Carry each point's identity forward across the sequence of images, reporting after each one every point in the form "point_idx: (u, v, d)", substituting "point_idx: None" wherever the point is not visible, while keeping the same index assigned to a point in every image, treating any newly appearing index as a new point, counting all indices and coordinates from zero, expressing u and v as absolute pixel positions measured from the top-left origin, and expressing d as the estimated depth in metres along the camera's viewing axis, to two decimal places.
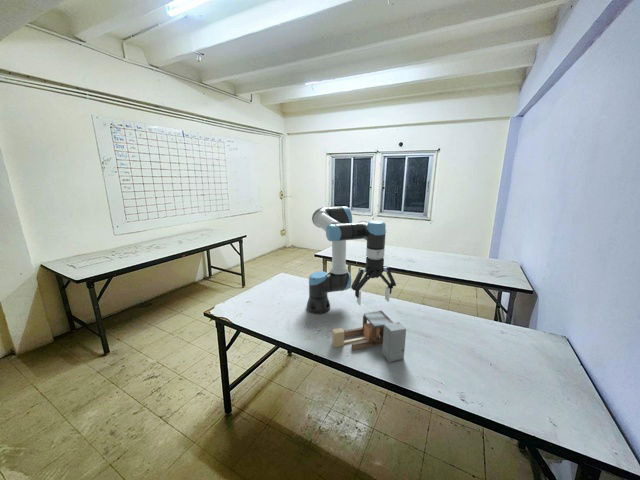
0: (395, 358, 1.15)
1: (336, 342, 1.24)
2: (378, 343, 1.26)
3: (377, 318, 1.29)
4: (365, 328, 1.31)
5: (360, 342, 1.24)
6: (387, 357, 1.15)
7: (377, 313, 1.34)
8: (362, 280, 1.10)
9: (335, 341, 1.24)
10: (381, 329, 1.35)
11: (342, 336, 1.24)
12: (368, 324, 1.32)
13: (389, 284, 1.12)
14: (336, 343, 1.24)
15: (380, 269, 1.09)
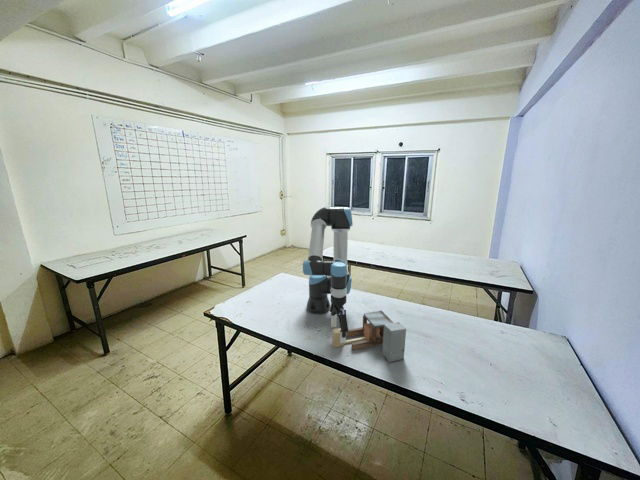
0: (395, 358, 1.15)
1: (336, 342, 1.24)
2: (378, 343, 1.26)
3: (377, 318, 1.29)
4: (365, 328, 1.31)
5: (360, 342, 1.24)
6: (387, 357, 1.15)
7: (377, 313, 1.34)
8: None
9: (335, 341, 1.24)
10: (381, 329, 1.35)
11: None
12: (368, 324, 1.32)
13: (341, 327, 1.16)
14: (336, 343, 1.24)
15: (337, 307, 1.19)
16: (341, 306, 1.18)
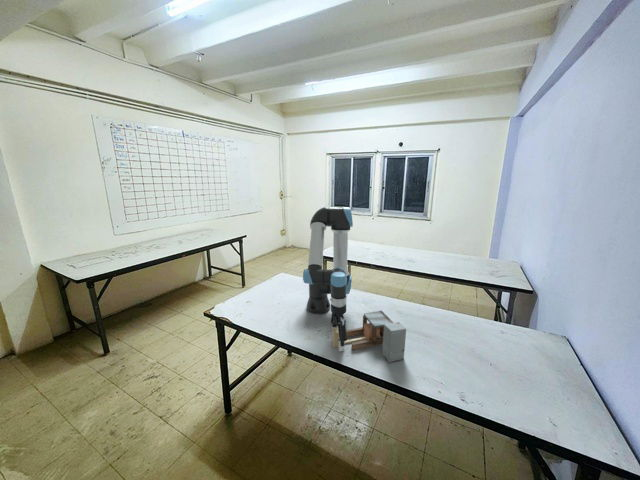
0: (395, 358, 1.15)
1: (336, 342, 1.24)
2: (378, 343, 1.26)
3: (377, 318, 1.29)
4: (365, 328, 1.31)
5: (360, 342, 1.24)
6: (387, 357, 1.15)
7: (377, 313, 1.34)
8: None
9: (335, 341, 1.24)
10: (381, 329, 1.35)
11: None
12: (368, 324, 1.32)
13: (339, 336, 1.20)
14: (336, 343, 1.24)
15: (337, 316, 1.20)
16: (341, 315, 1.19)
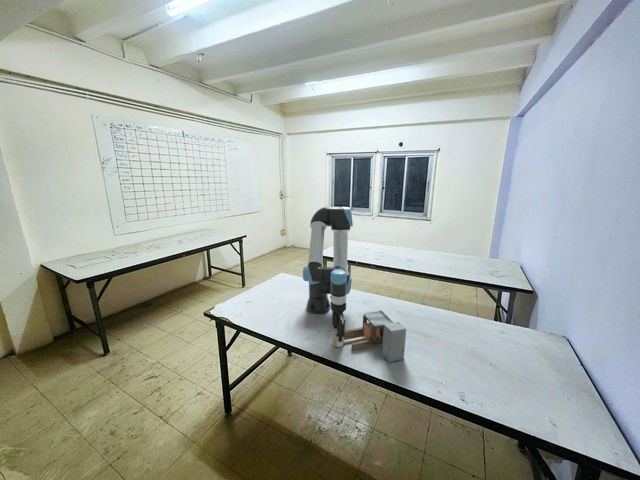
0: (395, 358, 1.15)
1: (336, 341, 1.24)
2: (378, 343, 1.26)
3: (377, 318, 1.29)
4: (365, 327, 1.31)
5: (360, 342, 1.24)
6: (387, 357, 1.15)
7: (377, 313, 1.34)
8: None
9: (335, 341, 1.24)
10: (381, 329, 1.35)
11: None
12: (368, 323, 1.32)
13: (337, 332, 1.22)
14: (336, 342, 1.24)
15: (337, 314, 1.20)
16: (341, 313, 1.19)
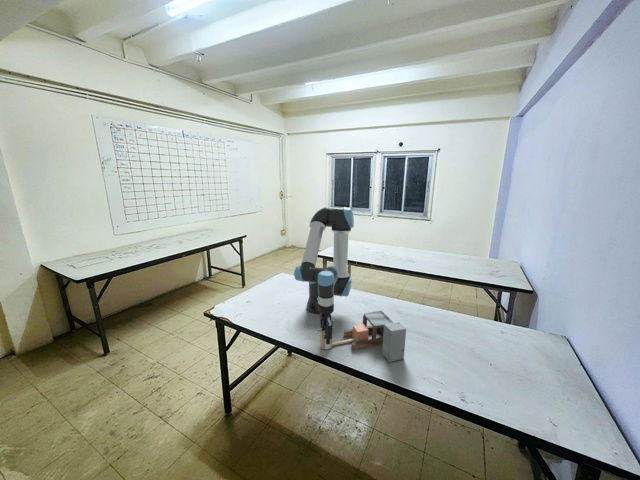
0: (395, 358, 1.15)
1: (324, 344, 1.23)
2: (378, 343, 1.26)
3: (377, 318, 1.29)
4: (354, 329, 1.29)
5: (360, 342, 1.24)
6: (387, 357, 1.15)
7: (377, 313, 1.34)
8: None
9: (323, 343, 1.22)
10: (381, 329, 1.35)
11: None
12: (357, 325, 1.30)
13: (325, 334, 1.20)
14: (324, 344, 1.23)
15: (325, 316, 1.18)
16: (328, 315, 1.17)
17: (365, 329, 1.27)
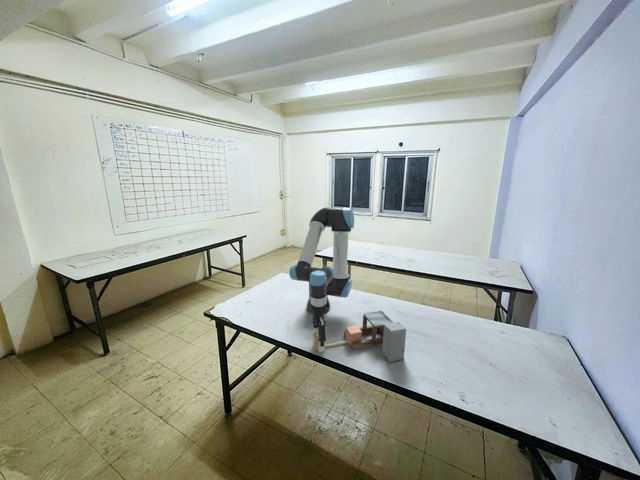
0: (395, 358, 1.15)
1: (317, 346, 1.22)
2: (378, 343, 1.26)
3: (377, 318, 1.29)
4: (347, 331, 1.28)
5: (360, 342, 1.24)
6: (387, 357, 1.15)
7: (377, 313, 1.34)
8: None
9: (315, 345, 1.21)
10: (381, 329, 1.35)
11: None
12: (350, 327, 1.29)
13: (319, 336, 1.17)
14: (316, 346, 1.22)
15: (317, 316, 1.17)
16: (321, 315, 1.16)
17: (358, 331, 1.26)
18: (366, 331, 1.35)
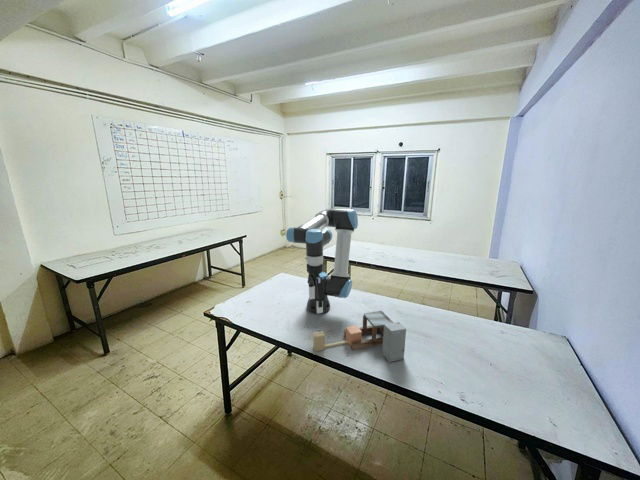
0: (395, 358, 1.15)
1: (317, 346, 1.22)
2: (378, 343, 1.26)
3: (377, 318, 1.29)
4: (347, 331, 1.28)
5: (360, 342, 1.24)
6: (387, 357, 1.15)
7: (377, 313, 1.34)
8: None
9: (315, 345, 1.21)
10: (381, 329, 1.35)
11: (323, 340, 1.22)
12: (350, 327, 1.29)
13: (317, 296, 1.11)
14: (316, 346, 1.22)
15: (314, 276, 1.13)
16: (317, 275, 1.12)
17: (358, 331, 1.26)
18: (366, 331, 1.35)
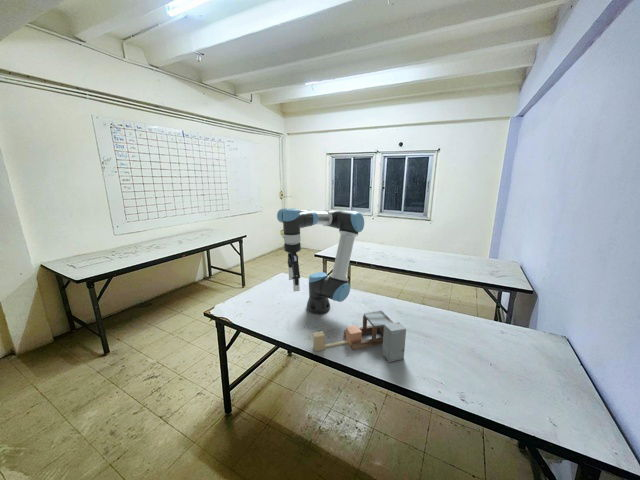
0: (395, 358, 1.15)
1: (317, 346, 1.22)
2: (378, 343, 1.26)
3: (377, 318, 1.29)
4: (347, 331, 1.28)
5: (360, 342, 1.24)
6: (387, 357, 1.15)
7: (377, 313, 1.34)
8: None
9: (315, 345, 1.21)
10: (381, 329, 1.35)
11: (323, 340, 1.22)
12: (350, 327, 1.29)
13: (293, 274, 1.13)
14: (316, 346, 1.22)
15: (291, 255, 1.15)
16: (294, 253, 1.14)
17: (358, 331, 1.26)
18: (366, 331, 1.35)
